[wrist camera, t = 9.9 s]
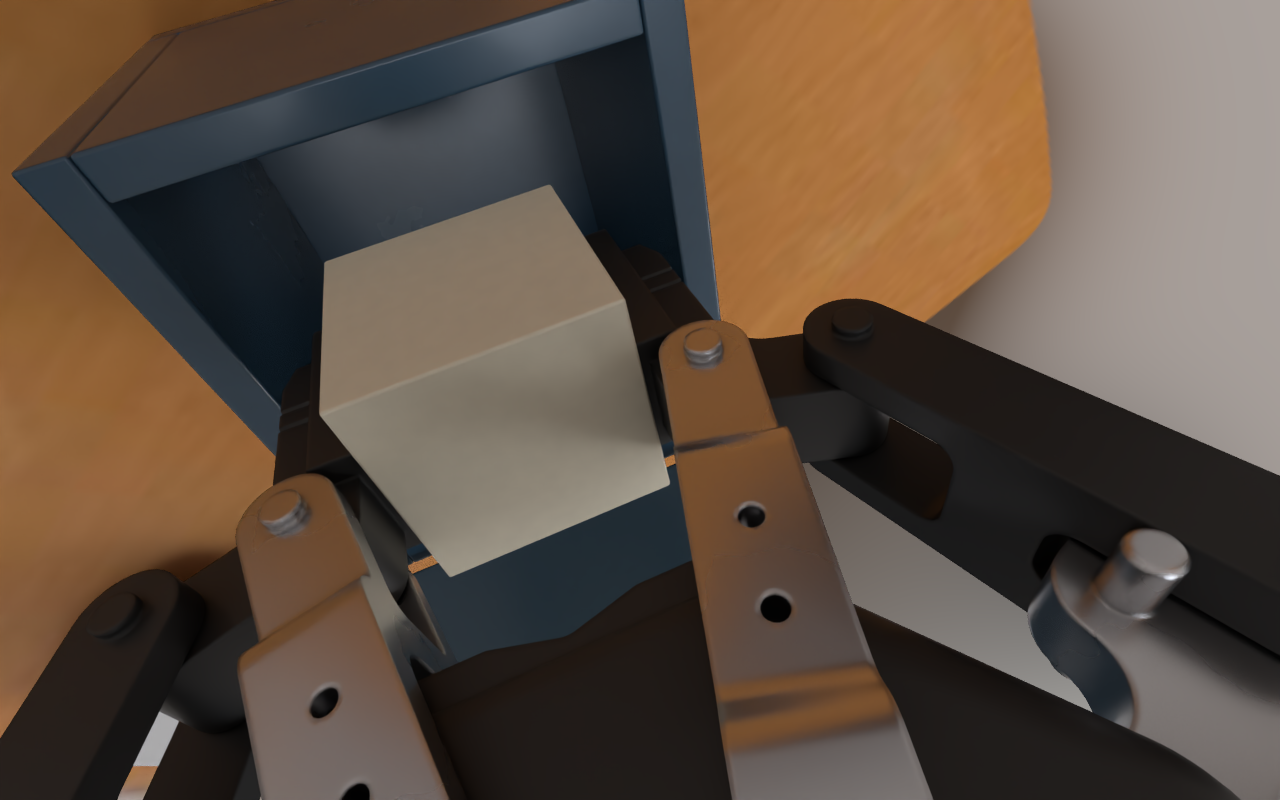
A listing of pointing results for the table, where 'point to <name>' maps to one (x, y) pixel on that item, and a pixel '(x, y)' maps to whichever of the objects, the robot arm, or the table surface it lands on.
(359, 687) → the robot arm
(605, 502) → the block
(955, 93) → the table surface
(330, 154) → the caddy
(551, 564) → the lid
